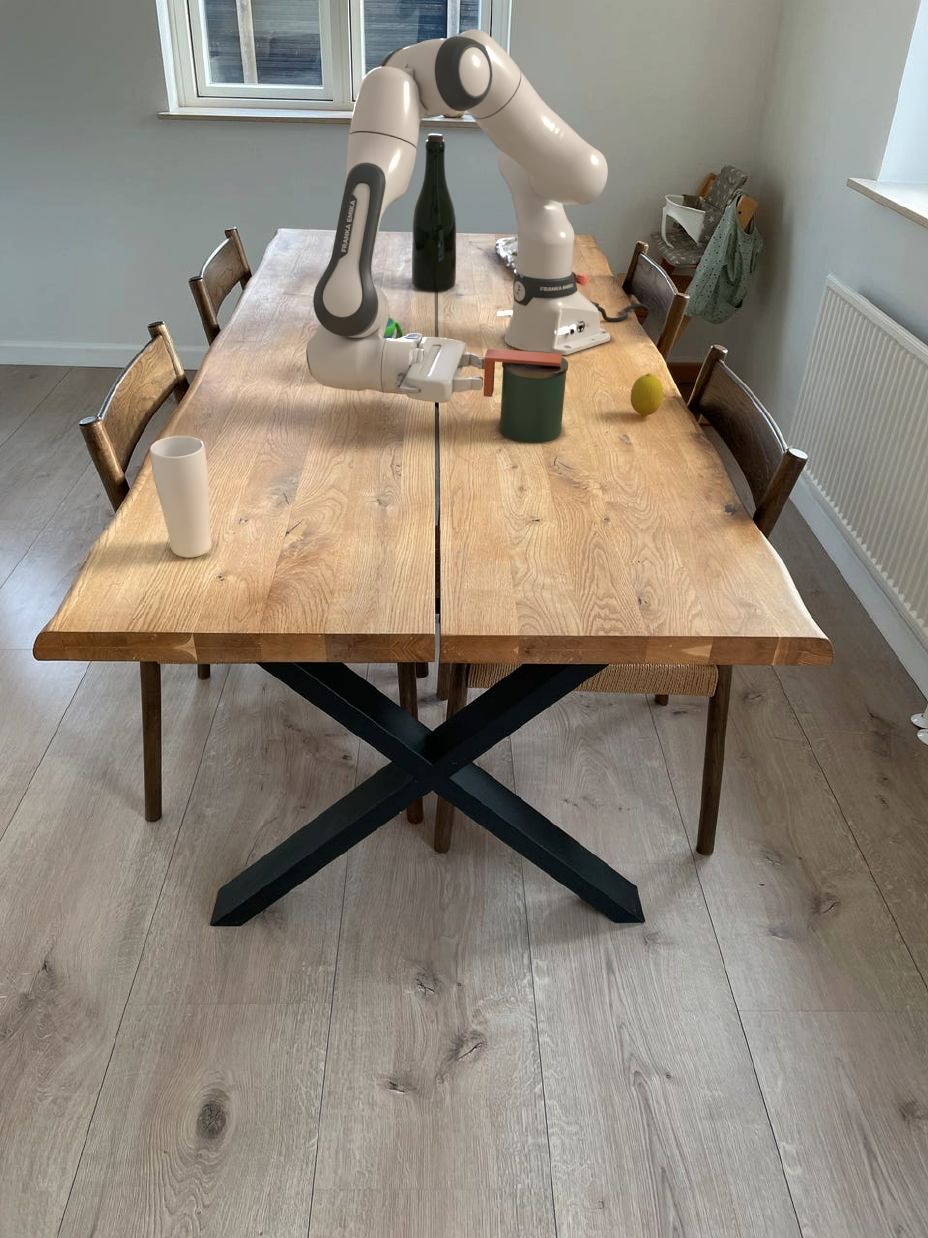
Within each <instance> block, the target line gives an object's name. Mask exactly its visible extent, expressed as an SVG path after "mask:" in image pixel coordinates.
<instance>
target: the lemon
mask: <svg viewBox="0 0 928 1238" xmlns="http://www.w3.org/2000/svg"><path fill="white" fill-rule="evenodd" d="M663 387H664V386H663V384H662V381H661V380H660V379H659V378H658V377H657V376H655V375H654V374H653V373H651V372H648V373H646V374H643V375H640V376H639V377H638V378H636V380H635V381H634V383H633V385H632V388H631V391H630V404H631V407H632V409H633V410H634V411H635V412H636V413H637V414H639V415H640V416H641V417H642V418H646V417H648V416H650V415H653V414H654V413H656V412H657V411H658V410H659V409H660V407H661V405H662V402H663V401H664V400H663V399H664V388H663Z"/></svg>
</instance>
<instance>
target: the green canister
mask: <svg viewBox="0 0 928 1238" xmlns="http://www.w3.org/2000/svg"><path fill="white" fill-rule="evenodd" d="M528 352H542V353H549V352H543V351H528ZM501 368H502V379H501V380H502V381H501V396H500V397H501V400H500V418H499V419H500V420H499V432H500V433H501V434H502V435H503V437H505V438H507V439H509V440H512V441H515V442H519V443H526V444H543V443H547V442H551V441H554V440H556V439H558V438H559V437H560V436H561V434H562V428H563V427H562V426H563V417H564V416H563V414H564V404H565V403H564V402H565V393H566V382H567V381H566V380H567V372H568V369H569V361H568V359H566V358H565V357H563V356H562V359H561V366H547V365H533V364H520V363H506V362H501Z"/></svg>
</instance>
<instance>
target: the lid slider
mask: <svg viewBox="0 0 928 1238" xmlns="http://www.w3.org/2000/svg"><path fill="white" fill-rule="evenodd" d="M484 356H485V369H484V374H483V397H485V398H492V397H493V394H494V392H495V391H494V389H495V371H496V370H495V369H496V363H502V362H506V363H520V364H533V365H547V366H561V359H562V357H563V355H562V354H556V353H542V352H528V351H525V350H515V349H514V350H512V349H500V348H499V349H498V348H487V349H486V353H485V355H484Z"/></svg>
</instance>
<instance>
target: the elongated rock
mask: <svg viewBox="0 0 928 1238" xmlns="http://www.w3.org/2000/svg"><path fill="white" fill-rule="evenodd" d="M517 248H518V237H509V236H507V237H502V238H500V239H498V240H497V241H496V244H495V250H496V252H495V254H496V255H497V256H498V257H499V258H500V263H502V264H503V265H504V267H505V268H506V269H507V270H508V271H509V272H510V273H511V274H512V276H513V277H514V271H515V270H516V269H517Z"/></svg>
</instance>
